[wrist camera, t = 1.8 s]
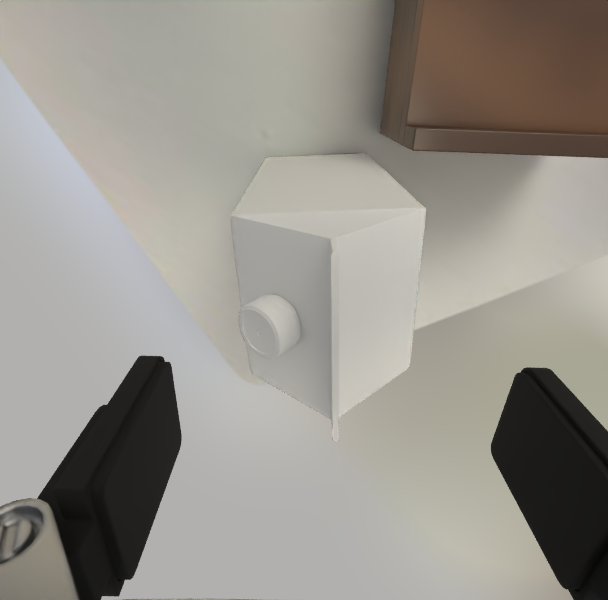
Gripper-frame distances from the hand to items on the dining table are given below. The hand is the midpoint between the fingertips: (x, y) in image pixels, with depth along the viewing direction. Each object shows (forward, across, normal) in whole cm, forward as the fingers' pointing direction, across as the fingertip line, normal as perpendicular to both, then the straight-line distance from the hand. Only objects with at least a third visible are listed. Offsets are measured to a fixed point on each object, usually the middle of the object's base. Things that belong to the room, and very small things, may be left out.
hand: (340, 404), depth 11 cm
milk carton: (+21, 0, -1) cm, 21 cm away
